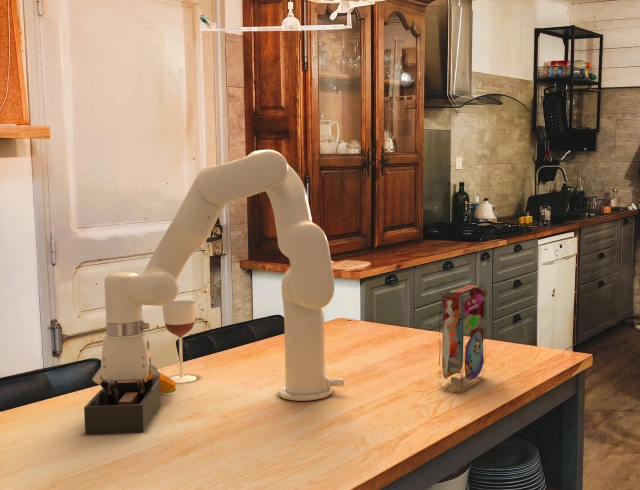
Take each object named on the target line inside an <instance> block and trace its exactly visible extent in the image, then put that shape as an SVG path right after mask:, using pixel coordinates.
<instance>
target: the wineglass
mask: <svg viewBox="0 0 640 490" xmlns="http://www.w3.org/2000/svg"><path fill="white" fill-rule="evenodd" d="M196 312H197V302H196V301H195V300H189V299H188V300H182V299H181V300H174V301H172V302H171V303H169V304H167V305H163V306H162V315H163V321H164V325H165V328H166V330H167V332H169V333H170V334H172V335H174V336H177V337H178V349H179V352H178V353H179V375H174V376H171V377H169V378H170V379H172V380H173V381H175V383H176V384H183V383H190V382H193V381H196V380H197V378H198V377H197V376H194V375H188V374H187V375H185V374H184V360H183V359H184V358H183V337H184V336H185V335H187V334H188V333H189V332H191V330H193V327H194V326H195V322H196V315H197V314H196Z"/></svg>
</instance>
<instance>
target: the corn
mask: <svg viewBox="0 0 640 490" xmlns="http://www.w3.org/2000/svg"><path fill="white" fill-rule="evenodd" d="M154 367H155V368H156V370H157V371H158V370H159V368H158V367H156V366H154ZM159 373H160V374H161V377H160V378H159V379H158V380H157V381H160V394H163V395H164V394H171V393H174V392H176V388H177V383H175V381H173V380H172V379H170V378H171V377H169V376H168V375H166V374H163V372H159ZM151 377H152V375H151V374H149V375H148V377H147V378H146V379H145V381H147V380H148V379H150V378H151ZM133 381H136V380H129V381H118V382H133Z"/></svg>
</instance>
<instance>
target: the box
mask: <svg viewBox="0 0 640 490" xmlns="http://www.w3.org/2000/svg"><path fill="white" fill-rule="evenodd" d="M488 289H489V288H488V286H487V284H484V285H483V284H481V286H480V285H476V284H466V285H462V286H457V287H456V288H451V289H448V290H446V291H444V292H443V293H439V296H441V304H439V307H440V308H439V316H438V317H439V323H438V326H439V327H438V329H439V332H438V333H439V335H441V323H442V344H441V340H438V341H439V343H438V344H439V348H438V352H439V353H438V354H439V355H438V361H439V362H438V365H441V369H442V374H441V371H439V378H442V376H443V378H444V379H446V380H448V378H449V377H450V380H449V381H448V382H447V383H446V384H445V385H441V383H438V385H439V387H440V388H445V392H446V393H447V392H448V393H450V391H449V390H451V391H453V392H454V393H456V394H459V393H464V392H466V391H468V390H469V388H467V389H466V390H464V391H461V392H460V391H459V392H458V391H456V390H455V389H452V388H449V386H451V385H453V386H457V387H459V386H460V390H462V389H465V388H466V386H464V385H463V379H465V380H466V381H473V380H475V379H476V378H477V380H475V382H477V381H478V382H477V383H475V384H473V382H471V383H470V384H469V385H467V387H469V386H471V385H473V387H475V386H476V385H478V384H479V383H480V382H482V381H483V378H482V377H478V376H479V375H481V373H482V375H484V373H485V370H486V369H484V364H485V355H484V352H485V348H484V341H485V339H486V336H484V332H486V330H487V328H484V326H483V325H480V324H481V323H482V322H483V320H484V319H485V307H487V303H486V302H487V298H488V294H489V292H488V291H489V290H488ZM467 291H468V293H467V294H466V292H467ZM466 296H467V299H466V300H465V298H466ZM469 296H470V297H469ZM441 312H442V313H441ZM441 315H442V317H441ZM465 315H467V316H466V318H465ZM441 320H442V321H441ZM479 325H480V326H479ZM469 333H470V335H469ZM468 335H469V338H468V341H467V342H466V344H464V337H468ZM463 367H464V371H463ZM456 374H458V375H457V376H453V375H456ZM464 374H465V375H464ZM463 375H464V377H463ZM459 376H460V379H459V378H458V377H459ZM480 379H481V380H480ZM450 383H451V384H450ZM448 384H449V386H447V385H448ZM446 386H447V387H446Z"/></svg>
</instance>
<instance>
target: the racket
mask: <svg viewBox="0 0 640 490" xmlns="http://www.w3.org/2000/svg"><path fill="white" fill-rule="evenodd" d="M137 393H138V392H133V393H125V394H124V395H123V397H122V398H121V399H120V400H119V402H118V405H131V404H137Z"/></svg>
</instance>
